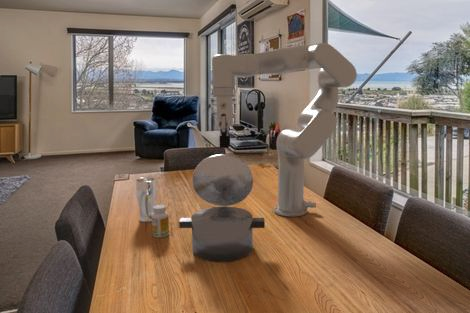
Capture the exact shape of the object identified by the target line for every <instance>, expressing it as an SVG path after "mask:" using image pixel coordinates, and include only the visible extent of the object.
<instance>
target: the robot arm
mask: <svg viewBox="0 0 470 313" xmlns="http://www.w3.org/2000/svg"><path fill="white" fill-rule="evenodd" d="M211 64H212V65H211V70H212V72H211V73H212V98H216V99H215V100H216V118H217V119H216V121H217V127H218V128H219V148H220V149H225V148H226V149H229V148H230V145H231V132H230V128H233V126H234V104H233V98H236V78H251V77H254V76H256V75H257V76H258V75H269V74H271V75H272V74H273V75H275V74H276V75H277V74H279V75H280V74H286V73H292V72H293V73H294V72H300V71H306V70H307V71H308V70H313V69H319V70H318V73H317V82H318V91H317V94H316V95H315V97H314V98H313V99H312V101H311V102H310V103H309V104H308V105H307V106H306V107H305V108H304V109H303V111H302V112H301V113H300V114H299V115H298V118H297V126H298V128H299V129H300V130H299V129H295V128H286V129H284V130H283V129H282V130H281V131H280V133H278V135H277V138H276V152H277V158H278V160H277V161H278V162H277V163H278V174H277V176H278V184H277V185H278V188H277V189H278V191H277V196H278V197H277V205H274V207H273V212H274V213H276V214H277V215H280V216H282V217H290V218H291V217H292V218H293V217H294V218H295V217H301V216H304V215H306V214H307V213H308V208H311V209H312V208H313V209H316V207H317V203H316V202H312V201H309V200H305V199H304V192H305V191H304V190H305V189H304V188H305V185H304V184H305V161H304V160H307V159H310V158H311V157H313V156H314V155H315V154H317V152H318V151H319V150H320V149H321V148H322V147H323V146H324V144H325V143H326V142H327V141H328V140H329V138H330V137H331V136H332V135H333V133H334V131H335V129H336V126H337V117H336V115H335V113H334V111H335V109H336V108H337V107H338V103H339V94H340V93H339V88H341V89H342V88H348V87H351V86H352V85H353V84H354V83H355V82H356V80H357V76H358V75H357V74H358V73H357V69H356V67H355V66H354V65H353V63H352V62H350V60H349V59H347V58H346V57H345V56H344V54H342V53H341V52H340V51H339V50H338V49H336V48H335V47H334V46H332V45H331V44H329V43H327V42H319V43H313V44H305V45H304V44H303V45H297V46H289V47H281V48H276V49H275V48H274V49H272V50H267V51H263V52H257V53H244V54H237V55H234V54H233V55H232V54H227V53H226V54H225V53H224V54H215V55H214V56H212V59H211Z"/></svg>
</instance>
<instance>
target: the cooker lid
mask: <svg viewBox="0 0 470 313" xmlns="http://www.w3.org/2000/svg"><path fill="white" fill-rule="evenodd" d="M251 170H252V169H250V166H248V164H247V163H246V162H245V161H244V160H243V159H241V158H239V157H236V156H234V155H231V154H224V153H220V154H214V155H211V156H208V157H206V158H203V159H202V160H201V161H199V163H198V164H197V165H196V167H195V169H194V171H193V174H192V186H193V189H194V191H195V193H196V194H197V195H198V197H199V198H200V199H202V200H203V201H205V202H206V203H208V204H210V205H214V206H217V207H221V206H227V207H230V206H233V205H236V204H239V203H241V202H243V201H244V200H246V198H247V197H248V196H249V195H250V193H251V192H252V189H253V185H254V177H253V172H252V171H251Z"/></svg>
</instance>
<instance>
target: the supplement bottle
mask: <svg viewBox="0 0 470 313" xmlns="http://www.w3.org/2000/svg"><path fill="white" fill-rule="evenodd" d="M166 207H167V206H166V205H165V204H157V205H156V204H155V206H154V207H153V211H154V212H153V213H152V215H151V218H152V221H151V230H152V232H151V233H152V237H154V238H159V239H161V238H164V237H165V238H166V237H168V236H169V234H170V225H169V223H170V222H169V212H167V211H166V210H167V208H166Z"/></svg>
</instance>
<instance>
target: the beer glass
mask: <svg viewBox="0 0 470 313" xmlns="http://www.w3.org/2000/svg"><path fill="white" fill-rule="evenodd" d="M156 188H157V187H156V178H154V177H150V176H149V177H147V176H146V177H140V178H137V179H135V189H136V190H135V194H136V199H137V203H138V206H139V219H138V220H139V222H141V223H150V222H151V223H152V218H151V215H152V213H153V212H154V211H153V207H154V206H155V205H156V199H157V189H156Z"/></svg>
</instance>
